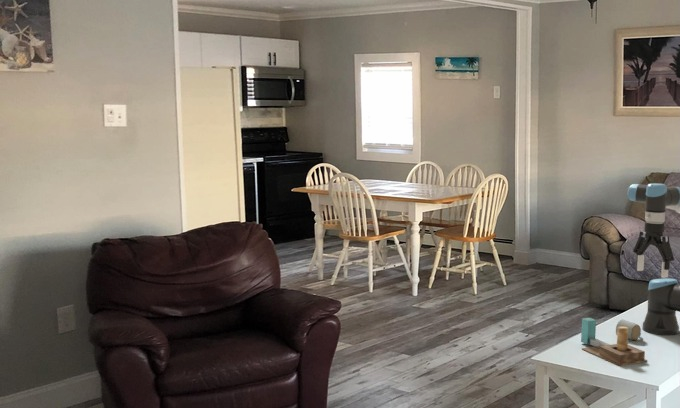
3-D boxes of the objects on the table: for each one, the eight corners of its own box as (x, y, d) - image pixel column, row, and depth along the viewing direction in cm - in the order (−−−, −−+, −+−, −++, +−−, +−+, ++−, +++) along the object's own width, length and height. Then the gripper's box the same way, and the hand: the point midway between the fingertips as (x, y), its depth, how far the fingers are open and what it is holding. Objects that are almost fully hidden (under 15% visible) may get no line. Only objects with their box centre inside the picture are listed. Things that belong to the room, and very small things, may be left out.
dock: (609, 345, 338) (609, 336, 337) (647, 361, 318) (647, 351, 317) (581, 349, 333) (582, 340, 332) (618, 365, 313) (619, 355, 312)
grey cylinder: (632, 342, 342) (633, 324, 341) (614, 338, 348) (615, 320, 348) (645, 338, 349) (646, 320, 348) (628, 333, 355) (629, 316, 354)
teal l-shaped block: (588, 340, 342) (589, 317, 341) (617, 352, 326) (618, 328, 325) (581, 341, 341) (581, 318, 340) (609, 354, 325) (610, 329, 323)
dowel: (622, 355, 324) (623, 326, 322) (629, 358, 320) (630, 328, 318) (614, 356, 322) (615, 327, 321) (620, 359, 318) (622, 329, 317)
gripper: (625, 218, 335) (623, 268, 338) (670, 227, 312) (667, 281, 315) (640, 217, 338) (637, 267, 341) (685, 226, 315) (682, 279, 318)
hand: (652, 274), depth 328 cm, fingers open, 13 cm apart
